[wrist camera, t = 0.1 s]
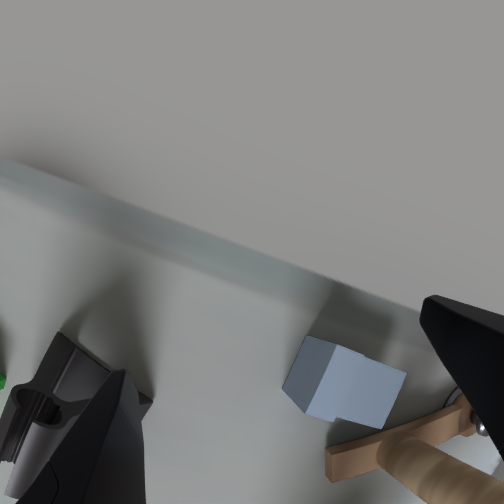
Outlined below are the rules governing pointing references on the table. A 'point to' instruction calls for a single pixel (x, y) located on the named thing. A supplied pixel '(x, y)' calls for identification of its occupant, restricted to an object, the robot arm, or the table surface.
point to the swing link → (420, 459)
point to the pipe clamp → (2, 381)
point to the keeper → (342, 384)
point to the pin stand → (473, 417)
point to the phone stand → (48, 410)
